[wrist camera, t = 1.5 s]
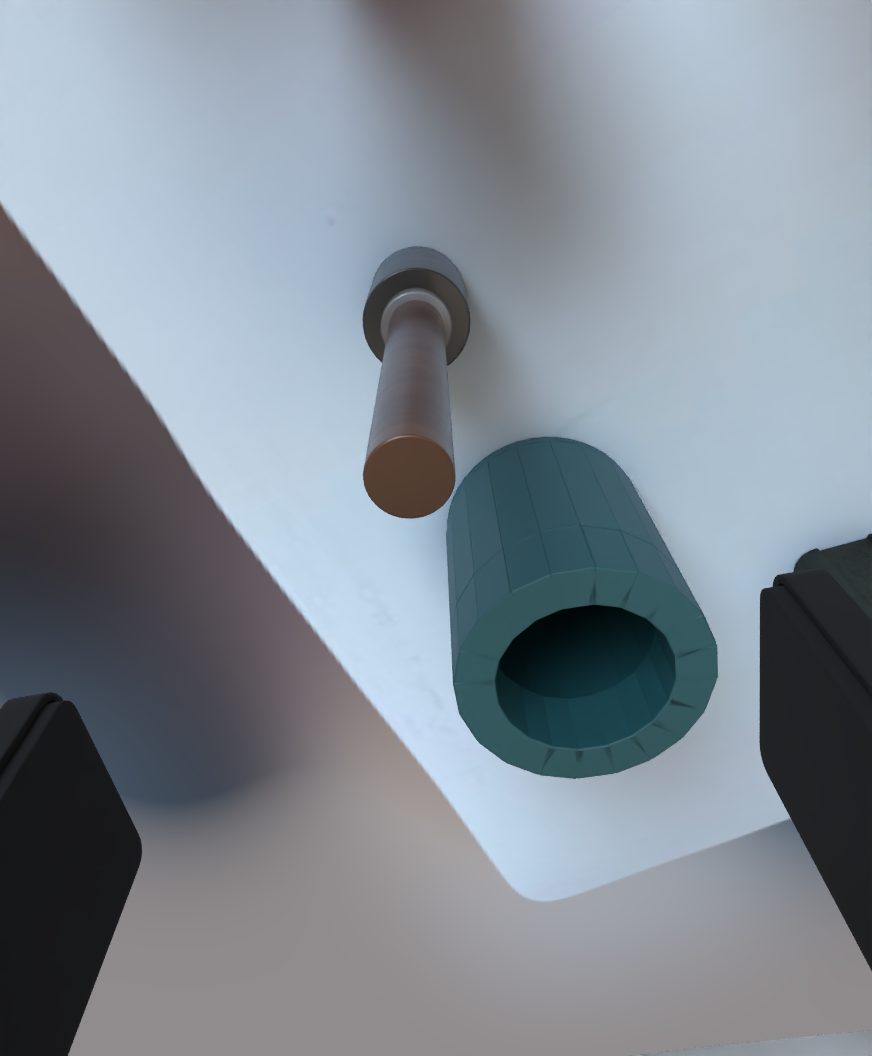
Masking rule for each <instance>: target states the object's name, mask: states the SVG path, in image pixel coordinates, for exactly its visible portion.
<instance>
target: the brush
mask: <svg viewBox="0 0 872 1056" xmlns="http://www.w3.org/2000/svg"><path fill="white" fill-rule="evenodd" d="M363 330H364V334H365V338H366V341H367V343H368V345H369V347H370V349H371V351H372V352H373V353H374V355H375V356H376V357H377V358H378V359H379V360H380V361H381V362H382V367H381V373H380V379H379V384H378V390H377V396H376V401H375V407H374V413H373V419H372V424H371V430H370V436H369V442H368V447H367V453H366V459H365V465H364V471H363V480H364V486H365V489H366V491H367V493H368V495H369V497H370V498H371V500H372V501H373V502H374V503H375V504H376V505H377V506H378V507H379V508H380V509H382V510H383V511H384V512H386V513H388V514H390V515H393V516H396V517H400V518H419V517H424V516H427V515H429V514H431V513H433V512H435V511H436V510H438V509H439V508H440V507H442V506H443V505H444V504H445V503H446V501H447V500H448V499H449V497H450V496H451V494H452V492H453V489H454V485H455V462H454V450H453V437H452V424H451V411H450V399H449V386H448V373H447V366H448V365H449V364H451V363H452V362H453V361H454V360H455V359H456V358H457V357H458V356H459V354H460V353H461V351H462V350H463V348H464V346H465V344H466V342H467V339H468V336H469V331H470V312H469V307H468V303H467V298H466V293H465V288H464V284H463V280H462V277H461V275H460V273H459V271H458V269H457V268H456V266H455V265H454V264H453V263H452V262H451V260H450V259H448V258H447V257H446V256H445V255H443V254H442V253H440V252H438V251H436V250H433V249H430V248H426V247H409V248H405V249H402V250H399V251H397V252H395V253H393V254H392V255H390V256H389V257H388V258H387V259H386V260H385V261H384V262H383V263H382V264H381V265H380V267H379V268H378V270H377V272H376V273H375V276H374V278H373V281H372V285H371V288H370V291H369V294H368V297H367V301H366V304H365V308H364V312H363Z"/></svg>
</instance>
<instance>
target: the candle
mask: <svg viewBox="0 0 872 1056" xmlns="http://www.w3.org/2000/svg"><path fill="white" fill-rule="evenodd" d="M818 568H822V569H825V570H826V571H828V572H829V573H830V574H831V576H832V577H833V578H834V579H835V580H836V581H837V582H838V583H839V584H840V586H841V587H842V588H843V589H844V590H845V591H846V592H847V593H848V594H849V596H850V597H851V598H852V599H853V600H854V601H855V602H856V603H857V604H858V605H859V607H860V608H861V609H862V610H863V611H864V612H865V613H866V614H867V615H868V617H869V618H870V619H871V620H872V534H869V535H868V537H867V538H866V539H862V540H858V541H855V542H851V543H847V544H844V545H840V546H836V547H833V548H829V549H825V550H821V551H820V550H819V549H814V550H811V551H809V552H807V553H806V554H804V555H803V556H802V557H801V558H800V559H799V560H798V562H797V563H796V565H795V568H794V572H799V571H805V570H812V569H818Z"/></svg>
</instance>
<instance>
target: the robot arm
mask: <svg viewBox="0 0 872 1056" xmlns="http://www.w3.org/2000/svg"><path fill="white" fill-rule="evenodd" d="M760 751H761V756H762V760H763V764H764V767H765V769H766V772H767V774H768V776H769V778H770V780H771V781H772V783H773V785H774V787H775V789H776V791H777V793H778V795H779V797H780V798H781V800H782V802H783V804H784V806H785V808H786V810H787V812H788V814H789V815H790V817H791V819H792V821H793V823H794V825H795V827H796V829H797V831H798V832H799V834H800V836H801V838H802V840H803V842H804V844H805V846H806V848H807V849H808V851H809V853H810V855H811V857H812V859H813V861H814V862H815V865H816V866H817V868H818V870H819V872H820V874H821V876H822V878H823V880H824V882H825V883H826V885H827V887H828V889H829V891H830V893H831V895H832V897H833V898H834V900H835V902H836V904H837V906H838V908H839V910H840V912H841V914H842V916H843V917H844V919H845V921H846V923H847V925H848V927H849V929H850V931H851V932H852V934H853V936H854V938H855V940H856V942H857V944H858V946H859V947H860V950H861V951H862V953H863V955H864V957H865V959H866V961H867V963H868V965H869V966H870V968H871V970H872V620H871V619H870V618H869V617H868V615H867V614H866V613H865V612H864V611H863V610H862V609H861V608H860V607H859V605H858V604H857V603H856V602H855V601H854V600H853V599H852V598H851V597H850V596H849V594H848V593H847V592H846V591H845V590H844V589H843V588H842V587H841V586H840V584H839V583H838V582H837V581H836V580H835V579H834V578H833V577H832V576H831V574H830V573H829V572H828V571H826V570H825V569H822V568H818V569H812V570H805V571H799V572H793V573H787V574H781V575H777V576H776V577H775V579H774V582H773V587H770V588H764V589H763V590H762V591H761V594H760ZM141 856H142V845H141V839H140V837H139V834H138V832H137V830H136V828H135V826H134V824H133V822H132V820H131V818H130V816H129V814H128V812H127V810H126V808H125V806H124V804H123V802H122V800H121V798H120V795H119V794H118V791H117V789H116V787H115V785H114V784H113V781H112V779H111V777H110V775H109V773H108V771H107V769H106V767H105V765H104V763H103V761H102V759H101V757H100V755H99V753H98V751H97V749H96V747H95V745H94V743H93V741H92V739H91V737H90V735H89V733H88V731H87V729H86V727H85V725H84V723H83V721H82V719H81V716H80V714H79V713H78V710H77V709H76V707H75V705H74V704H73V703H71V702H70V701H63V699H62V698H61V697H60V696H59V695H57V694H56V693H44V694H38V695H31V696H25V697H19V698H14V699H11V700H8V701H7V702H6V703H5V704H4V705H3V706H2V708H1V709H0V1056H68V1053H69V1051H70V1048H71V1045H72V1043H73V1040H74V1037H75V1035H76V1032H77V1029H78V1027H79V1024H80V1022H81V1019H82V1016H83V1014H84V1011H85V1008H86V1006H87V1003H88V1000H89V998H90V995H91V992H92V990H93V987H94V985H95V982H96V979H97V977H98V974H99V971H100V968H101V966H102V963H103V961H104V958H105V955H106V953H107V950H108V947H109V945H110V942H111V940H112V937H113V934H114V931H115V929H116V926H117V924H118V921H119V918H120V916H121V913H122V910H123V908H124V905H125V902H126V900H127V897H128V895H129V892H130V889H131V887H132V884H133V881H134V879H135V876H136V873H137V871H138V868H139V865H140V861H141ZM633 1056H872V1030H867V1031H857V1032H847V1033H837V1034H828V1035H817V1036H807V1037H797V1038H787V1039H777V1040H767V1041H756V1042H746V1043H737V1044H727V1045H718V1046H709V1047H701V1048H692V1049H684V1050H675V1051H666V1052H658V1053H649V1054H641V1055H633Z"/></svg>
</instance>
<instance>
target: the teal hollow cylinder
mask: <svg viewBox="0 0 872 1056" xmlns="http://www.w3.org/2000/svg"><path fill="white" fill-rule="evenodd" d="M446 540H447V561H448V583H449V605H450V627H451V649H452V671H453V686H454V691H455V696H456V700H457V705H458V710H459V714H460V716H461V717H462V719H463V720H464V722H465V723H466V725H467V726H468V728H469V729H470V731H471V732H472V734H473V735H474V737H475V738H476V740H477V741H478V742H479V743H480V744H481V745H483V746H484V747H485V748H487V749H488V750H489V751H491V752H492V753H493V754H495V755H496V756H497V757H499V758H500V759H501V760H503V761H504V762H506V763H508V764H510V765H513V766H516V767H519V768H521V769H524V770H527V771H530V772H532V773H535V774H538V775H543V776H554V777H564V778H574V779H576V778H585V777H592V776H600V775H607V774H614V773H618V772H621V771H623V770H626V769H628V768H631V767H634V766H636V765H639V764H641V763H644V762H647V761H649V760H651V759H653V758H654V757H656V756H657V755H659V754H660V753H662V752H663V751H665V750H666V749H667V748H669V747H670V746H672V745H673V744H675V743H676V742H677V741H679V740H680V739H681V738H683V737H684V736H685V734H686V733H687V732H688V731H689V730H690V728H691V727H692V726H693V725H694V723H695V722H696V721H697V720H698V719H699V717H700V716H701V715H702V714H703V713H704V711H705V709H706V707H707V704H708V701H709V699H710V696H711V693H712V691H713V688H714V686H715V683H716V680H717V678H718V667H717V644H716V641H715V639H714V636H713V634H712V632H711V630H710V628H709V625H708V623H707V621H706V619H705V616H704V614H703V612H702V611H701V609H700V607H699V605H698V603H697V601H696V600H695V598H694V596H693V594H692V592H691V590H690V589H689V587H688V585H687V583H686V581H685V579H684V578H683V576H682V574H681V572H680V570H679V568H678V567H677V565H676V563H675V561H674V559H673V557H672V556H671V554H670V552H669V550H668V548H667V546H666V545H665V543H664V541H663V539H662V537H661V536H660V534H659V532H658V530H657V528H656V526H655V525H654V523H653V521H652V519H651V517H650V515H649V514H648V512H647V510H646V508H645V506H644V504H643V503H642V501H641V499H640V497H639V495H638V493H637V492H636V490H635V488H634V486H633V484H632V482H631V481H630V479H629V477H628V476H627V475H626V474H625V473H624V471H623V470H622V469H621V468H620V467H619V466H618V465H617V463H616V462H615V461H613V460H612V459H611V458H610V457H608V456H607V455H606V454H604V453H603V452H601V451H599V450H598V449H596V448H594V447H592V446H590V445H587V444H585V443H582V442H578V441H575V440H571V439H564V438H554V437H543V438H534V439H528V440H524V441H519V442H516V443H514V444H511V445H508V446H505V447H503V448H501V449H499V450H498V451H496V452H494V453H492V454H491V455H489V456H488V457H486V458H485V459H483V460H482V461H481V462H480V463H479V464H477V465H476V466H475V467H474V468H473V469H472V470H471V471H470V472H469V474H468V475H467V476H466V477H465V478H464V480H463V481H462V483H461V484H460V486H459V487H458V489H457V491H456V493H455V495H454V497H453V500H452V503H451V506H450V509H449V514H448V520H447V532H446Z"/></svg>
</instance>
